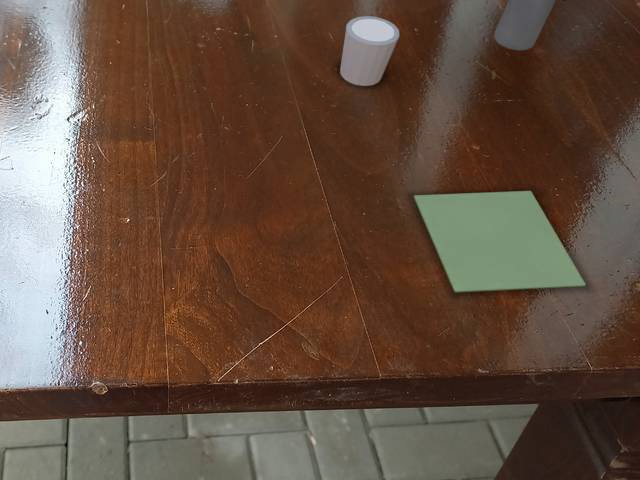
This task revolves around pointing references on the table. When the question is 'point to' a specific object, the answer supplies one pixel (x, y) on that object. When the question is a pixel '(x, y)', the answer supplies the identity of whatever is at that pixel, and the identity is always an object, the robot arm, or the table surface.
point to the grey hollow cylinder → (522, 23)
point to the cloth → (496, 242)
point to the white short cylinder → (367, 49)
